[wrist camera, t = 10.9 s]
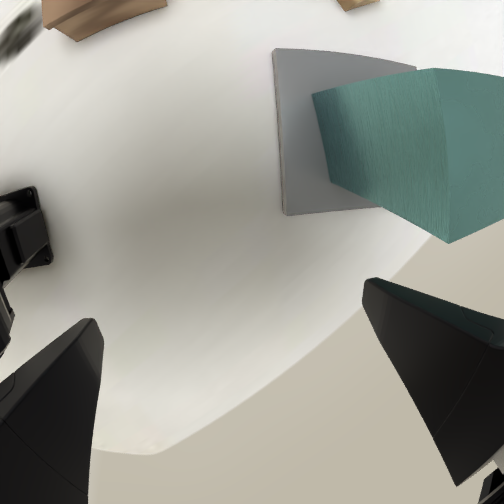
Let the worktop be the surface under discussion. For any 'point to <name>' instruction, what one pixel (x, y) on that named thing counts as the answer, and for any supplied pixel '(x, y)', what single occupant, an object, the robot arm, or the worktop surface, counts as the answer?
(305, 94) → the plate
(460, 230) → the tall teal box
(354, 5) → the block
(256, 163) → the worktop surface
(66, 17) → the walnut box
